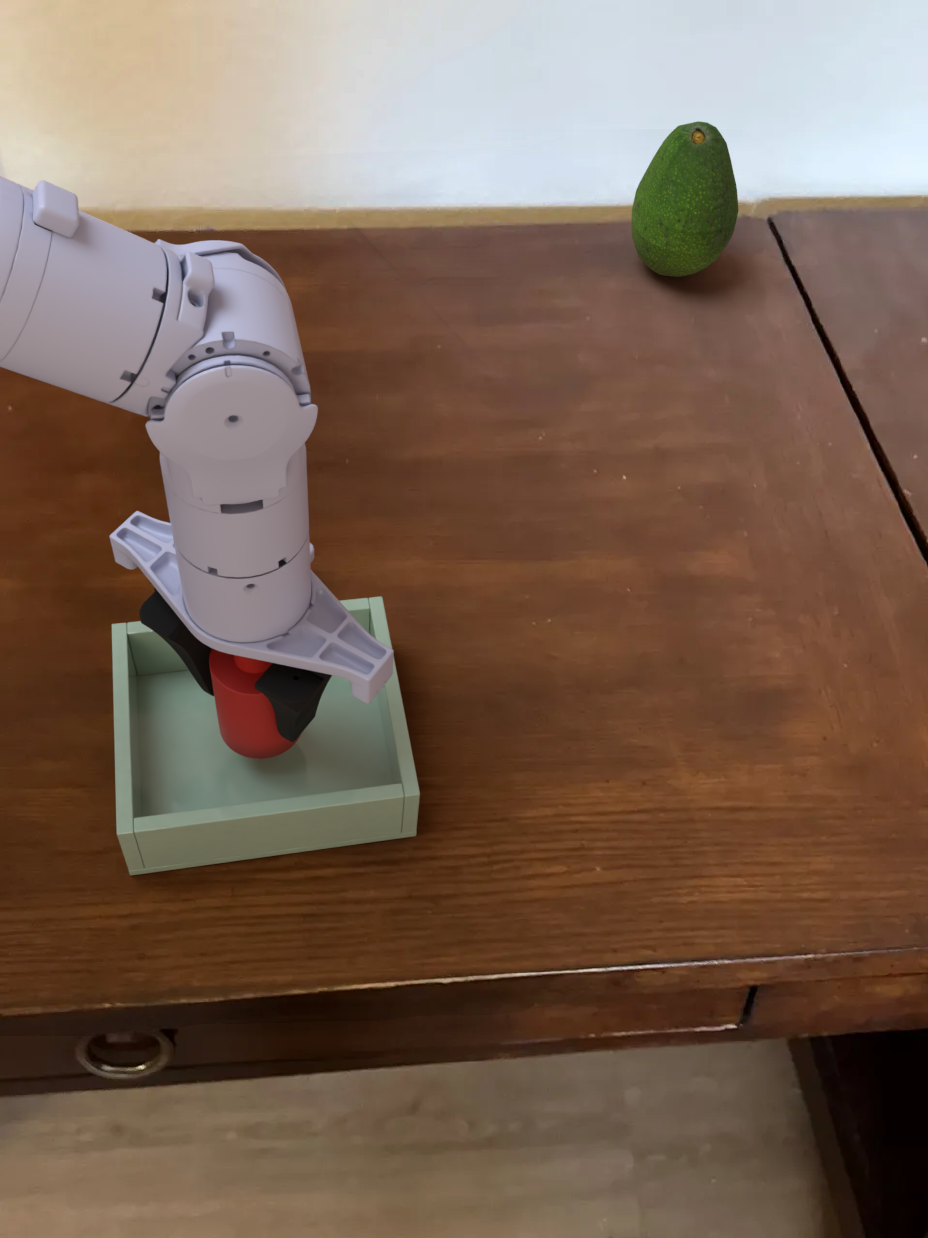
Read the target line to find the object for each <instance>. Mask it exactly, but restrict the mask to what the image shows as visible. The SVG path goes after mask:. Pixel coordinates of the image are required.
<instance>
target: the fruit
mask: <svg viewBox="0 0 928 1238" xmlns="http://www.w3.org/2000/svg"><path fill="white" fill-rule="evenodd" d="M739 211H740V210H739V198H738V188H737V182H736V177H735V173H734V169H733V163H732V159H731V155H730V151H729V147H728V143H727V141H726V140H725V138H724V137H723V135H722V133H721V132H720V131H719V129H718V128H717V127H716V126H714V125H713V124H711V123H709V122H706V121H699V120H698V121H694V122H687V123H684V124H680V125H678V126H676V127H675V128H674V129H673V130H672V131H671V132H670V133H669V134H668V135H667V136H666V137H665V138H664V140H663V141H662V142H661V144H660V146H659V148H658V149H657V150H656V153H655V154H654V155H653V158H652V159H651V161H650V163H649V165H648V166H647V168H646V170H645V172H644V173H643V176H642V178H641V179H640V182H639V183H638V185H637V188H636V190H635V193H634V199H633V203H632V208H631V225H630V226H631V238H632V241H633V244H634V248H635V250H636V253H637V255H638V257H639V258H640V260H641V261H642V263H643V264H644V265H645V266H646V267H647V268H648V269H650V270H651V271H652V272H654V273H656V274H658V275H660V276H667V277H676V278H680V277H686V276H690V275H694V274H697V273H699V272H701V271H703V270H705V269H706V268H708V267H709V266H710V265H712V264H713V263H715V262H716V261H717V260H718V258H719V257H720V256H721V254H722V253H723V251H724V250H725V249H726V248H727V245H728V244H729V242H730V241H731V239H732V237H733V235H734V232H735V228H736V224H737V219H738V216H739V215H738V214H739Z"/></svg>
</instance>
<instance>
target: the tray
mask: <svg viewBox="0 0 928 1238" xmlns="http://www.w3.org/2000/svg"><path fill="white" fill-rule="evenodd" d="M339 601H340V602H341V604H342V605H343V606H344V607H345V608H346V609H347V610H348V611H349V612H350V613H351V615H352V616H353V617H354V618H355V619H356V620H357V621H358V622H359V623H360V625H361V626H362V627H363V628H364V629H365V630H366V631H367V632H368V633H369V634H370V635H372V636H373V637H374V638H375V639H377V640H378V641H379V642H381V643H383V644H384V645H386V646H388V647H389V648H391V649H393V644H392V640H391V633H390V629H389V623H388V619H387V613H386V607H385V603H384V598H383V596H382V595H380V596H370V597H362V598H351V599H341V600H339ZM111 657H112V658H111V660H112V661H111V662H112V663H111V664H112V666H111V667H112V703H113V704H112V705H113V706H112V708H113V743H114V744H113V745H114V748H113V749H114V788H115V793H114V794H115V829H116V832H115V833H116V834H115V835H116V837H117V840H118V843H119V846H120V849H121V852H122V855H123V859H124V861H125V865H126V867H127V870H128V874H129V876H137V875H144V874H153V873H158V872H159V873H160V872H166V871H174V870H181V869H188V868H195V867H196V868H197V867H204V866H209V865H217V864H224V863H225V864H226V863H232V862H238V861H239V862H240V861H246V860H255V859H260V858H267V857H268V858H269V857H273V856H275V857H276V856H283V855H290V854H296V853H305V852H311V851H319V850H326V849H333V848H340V847H347V846H355V845H361V844H367V843H376V842H383V841H390V840H391V841H392V840H397V839H404V838H405V839H406V838H412V837H417V832H418V831H417V829H418V821H419V811H420V810H419V809H420V799H421V790H420V785H419V780H418V777H417V769H416V765H415V760H414V754H413V748H412V744H411V738H410V734H409V728H408V723H407V717H406V711H405V707H404V702H403V697H402V692H401V691H402V690H401V686H400V681H399V676H398V671H397V665H396V660H395V655H393V674H392V676H391V677H390V679H389V680H388V681H387V682H386V683H385V685H384V686H383V688H382V689H381V690H380V691H379V693H378V694H377V695H376V696H375V697H374V699H373V700H372V701H371V702H370V703H369V704H367V703H365V702H363V701H362V700H360V699H358V698H356V697H355V696H353V695H352V694H351V684H350V681H349V680H347V679H344V678H341V677H337V676H333V675H332V677H331V678H330V680H329V682H328V684H327V685H326V687H325V689H324V692H323V694H322V696H321V699H320V701H319V704H318V708H317V711H316V715H315V717H314V719H313V720H312V721H311V722H310V723H309V725H308V726H307V727H306V728H305V729H304V731H303V732H302V733H301V736H300V737H299V739H298V741H297V742H296V743H295V744H294V745H293V746H292V747H291V748H290V749H288V750H287V751H286V752H284V753H282V754H280V755H278V756H275V757H271V758H266V759H253V758H248V757H244V756H242V755H239V754H238V753H236V752H234V751H233V750H232V749H230V748H229V747H228V746H227V745H226V743H225V742H224V740H223V738H222V737H221V734H220V729H219V723H218V716H217V710H216V704H215V698H214V696H212V695H210V694H208V693H206V692H205V691H203V690H202V688H201V687H200V686H199V685H198V683H197V682H196V680H195V679H194V677H193V676H192V674H191V672H190V671H189V669H188V668H187V666H186V665H185V663H184V662H183V661H182V659H181V658H180V657H179V655H178V654H177V653H176V652H175V650H174V649H173V648H172V647H171V646H170V645H169V644H168V643H167V642H166V641H165V640H164V639H163V638H162V637H160V636H159V635H158V634H157V633H156V632H154V631H153V630H152V629H150V628H148V627H147V626H145V625H144V624H142V623H141V620H137V621H128V622H120V623H119V622H117V623H111Z"/></svg>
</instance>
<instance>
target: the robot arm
mask: <svg viewBox="0 0 928 1238" xmlns="http://www.w3.org/2000/svg"><path fill="white" fill-rule="evenodd" d="M0 368H3V369H4V370H8V371H11V372H14V373H17V374H19V375H23V376H26V377H28V378H31V379H34V380H38V381H40V382H43V383H46V384H49V385H52V386H55V387H57V388H61V389H63V390H66V391H69V392H72V393H75V394H78V395H81V396H84V397H87V398H89V399H93V400H95V401H99V402H101V403H104V404H108V405H110V406H112V407H115V408H119V409H122V410H125V411H127V412H130V413H134V414H137V415H140V416H143V417H149V420H148V421H146V422H145V425H144V426H145V430H146V432H147V435H148V437H149V439H150V441H151V442H152V444H153V445H154V447H155V448H156V449H157V450H158V451H159V465H160V471H161V476H162V483H163V489H164V494H165V500H166V507H167V511H168V517H169V522H168V521H164V520H161V519H157V518H155V517H152V516H149V515H148V514H146V513H143V512H141V511H139V510H136V511H135V512H133V513H132V514H130V516H129V517H128V518H127V519H126V520H125V521H124V522H123V523H121V524H120V525H119V526H118V527H117V528H116V529H114V530H113V532H111V533H110V534H109V540H110V546H111V548H112V553H113V557H114V561H115V563H116V564H118V565H120V566H122V567H124V568H125V569H127V570H135V569H137V568H138V569H139V570H140V572H142V574H143V575H144V576H145V577H146V578H147V580H148V581H149V582H150V583H151V585H152V586H153V590H154V592H152V594H150V596H149V597H148V598H147V599H146V600H145V601H144V602H143V603H142V604H141V606H140V608H139V614H138V615H139V619H140V620H139V621H141V623H142V624H144V625H145V626H147V627H148V628H150V629H152V630H153V631H154V632H156V633H157V634H158V635H159V636H160V637H162V638H163V639H164V640H165V641H166V642H167V643H168V644H169V645H170V646H171V647H172V648H173V649H174V650H175V652H176V653H177V654H178V655H179V657H180V658H181V659H182V661H183V662H184V663H185V665H186V666H187V668H188V669H189V671H190V672H191V674H192V676H193V677H194V679H195V680H196V682H197V683H198V685H199V686H200V687H201V688H202V690H203V691H205V692H206V693H208V694H210V695H212V696H214V691H213V685H212V679H211V672H210V666H209V655H210V651H211V648H213V649H215V650H218V651H220V652H224V653H228V654H232V655H237V656H242V657H247V658H252V659H257V660H261V661H266V662H271V663H272V664H271V666H270V667H269V668H268V669H267V670H266V671H265V672H264V673H263V675H262V676H261V677H260V678H259V679H258V680H257V681H256V682H255V689H256V690H258V691H260V692H262V693H263V694H264V695H265V696H266V697H267V698H268V700H269V701H270V703H271V705H272V707H273V709H274V712H275V718H276V724H277V729H278V732H279V733H280V735H281V736H282V737H283V738H285V739H287V740H289V741H290V742H295V740H296V739H297V738H298V737H299V736H300V734H301V733H302V732H303V731H304V729H305V728H306V727H307V726H308V725H309V723H310V722H311V721H312V720H313V719H314V717H315V715H316V711H317V708H318V704H319V701H320V699H321V696H322V694H323V692H324V689H325V687H326V685H327V684H328V682H329V680H330V678H331V677H332V675H333V676H337V677H341V678H344V679H347V680H349V681H350V684H351V694H352V695H353V696H355V697H356V698H358V699H360V700H362V701H363V702H365V703H367V704H369V703H370V702H371V701H372V700H373V699H374V697H375V696H376V695H377V694H378V693H379V691H380V690H381V689H382V688H383V686H384V685H385V683H386V682H387V681H388V680H389V679H390V677H391V676H392V674H393V655H394V653H395V650H394V649H393V648H392V649H391V648H389V647H388V646H386V645H384V644H383V643H381V642H379V641H378V640H377V639H375V638H374V637H373V636H372V635H370V634H369V633H368V632H367V631H366V630H365V629H364V628H363V627H362V626H361V625H360V623H359V622H358V621H357V620H356V619H355V618H354V617H353V616H352V615H351V613H350V612H349V611H348V610H347V609H346V608H345V607H344V606H343V605H342V604H341V602H340V600H339V599H338V597H336V595H334V593H333V592H332V591H331V590H330V589H329V588H328V586H326V584H324V582H322V580H321V579H320V578H319V577H318V576H317V575H316V573H315V572H314V571H313V570H312V568H311V564H312V562H313V561H314V559H315V547H314V545H313V544H312V542H311V541H310V514H309V512H310V511H309V491H308V490H309V489H308V469H307V468H308V465H307V463H308V462H307V447H306V442H307V440H308V439H309V438H310V436H311V434H313V433H312V432H313V431H314V428H315V426H316V423H317V419H318V414H319V407H318V405H317V404H315V403H312V390H311V384H310V380H309V376H308V372H307V367H306V362H305V357H304V353H303V349H302V345H301V339H300V335H299V332H298V326H297V322H296V317H295V313H294V309H293V305H292V301H291V298H290V296H289V294H288V292H287V289H286V285H285V283H284V281H283V280H282V277H281V276H280V275H279V273H278V272H277V271H276V270H275V269H274V268H273V266H271V265H270V263H268V262H267V261H266V260H265V259H263V258H262V257H260V256H258V255H256V254H254V253H253V252H251V251H250V250H249V248H247V247H246V246H245V245H244V244H243V243H240V242H235V241H230V240H220V239H217V240H215V239H211V240H199V241H194V242H190V243H185V244H174V243H170V242H167V241H165V240H163V239H160V238H158V239H157V240H156V241H155V242H153V241H150V240H148V239H146V238H144V237H141V236H139V235H137V234H135V233H132V232H130V231H128V230H126V229H124V228H121V227H119V226H117V225H114V224H112V223H109V222H107V221H105V220H103V219H100V218H98V217H96V216H93V215H91V214H89V213H86V212H84V211H82V210H80V208H79V197H78V195H77V194H75V192H72V191H70V190H67V189H64V188H63V187H60V186H58V185H56V184H54V183H51V182H49V181H47V180H44V179H43V180H42V179H41V180H39V181H38V182H37V183H36V186H35V187H34V189H31V188H29V187H27V186H24V185H23V184H20V183H17V182H15V181H13V180H10V179H8V178H6V177H4V176H2V175H0ZM394 656H395V655H394Z"/></svg>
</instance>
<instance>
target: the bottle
mask: <svg viewBox="0 0 928 1238" xmlns="http://www.w3.org/2000/svg"><path fill="white" fill-rule="evenodd" d="M271 664H272V663H271V662H266V661H261V660H257V659H252V658H247V657H242V656H237V655H232V654H228V653H224V652H220V651H218V650H215V649H213V648H211V651H210V655H209V666H210V672H211V679H212V685H213V691H214V698H215V704H216V710H217V716H218V723H219V729H220V734H221V737H222V738H223V740H224V742H225V743H226V745H227V746H228V747H229V748H230V749H232V750H233V751H234V752H236V753H238V754H239V755H242V756H244V757H248V758H253V759H266V758H271V757H275V756H278V755H280V754H282V753H284V752H286V751H287V750H288V749H290V748H291V747H292V746H293V745H294V744H295V743H296V742H297V741H298V739H299V737H300V736H301V734H300V736H299V737H298V738H297V739H296V740H295V742H290V741H289V740H287V739H285V738H283V737H282V736H281V735H280V733H279V732H278V729H277V724H276V718H275V712H274V709H273V707H272V705H271V703H270V701H269V700H268V698H267V697H266V696H265V695H264V694H263V693H262V692H260V691H258V690H256V689H255V682H256V681H257V680H258V679H259V678H260V677H261V676H262V675H263V673H264V672H265V671H266V670H267V669H268V668H269V667H270V666H271Z"/></svg>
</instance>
